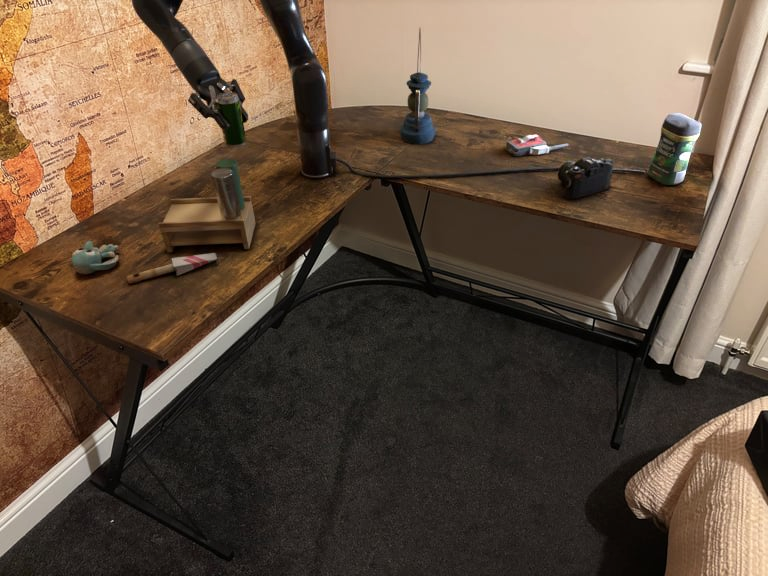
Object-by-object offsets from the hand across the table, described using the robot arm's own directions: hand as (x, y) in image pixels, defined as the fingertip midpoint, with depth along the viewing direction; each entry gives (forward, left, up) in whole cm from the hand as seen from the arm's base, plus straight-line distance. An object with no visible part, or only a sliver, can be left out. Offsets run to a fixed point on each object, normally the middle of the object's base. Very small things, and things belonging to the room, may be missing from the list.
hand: (236, 124), depth 134 cm
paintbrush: (+15, +26, -25) cm, 39 cm away
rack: (+9, +11, -25) cm, 29 cm away
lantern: (-49, -47, -25) cm, 72 cm away
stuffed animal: (+34, +21, -25) cm, 47 cm away
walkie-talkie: (-86, -34, -25) cm, 96 cm away
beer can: (+1, -1, -6) cm, 6 cm away
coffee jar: (-118, -11, -25) cm, 121 cm away
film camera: (-91, -6, -25) cm, 95 cm away
